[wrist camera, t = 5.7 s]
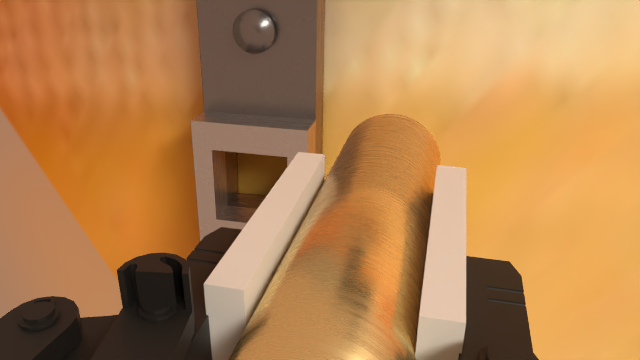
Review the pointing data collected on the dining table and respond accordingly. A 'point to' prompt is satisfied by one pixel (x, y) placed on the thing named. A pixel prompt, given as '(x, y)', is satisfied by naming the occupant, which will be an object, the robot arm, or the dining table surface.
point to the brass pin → (355, 255)
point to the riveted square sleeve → (254, 96)
